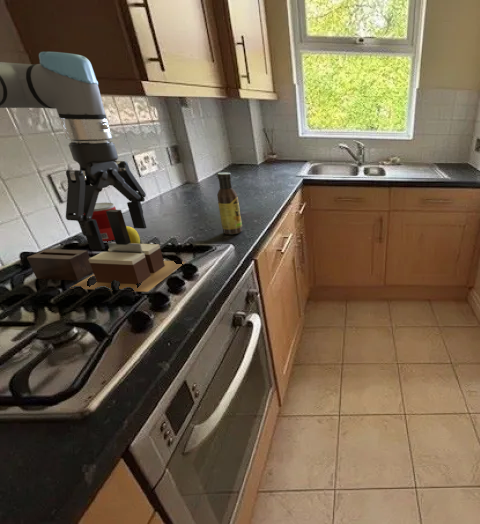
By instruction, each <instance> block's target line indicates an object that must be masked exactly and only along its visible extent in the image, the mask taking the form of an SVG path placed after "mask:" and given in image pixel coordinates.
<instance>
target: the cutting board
mask: <svg viewBox="0 0 480 524" xmlns="http://www.w3.org/2000/svg"><path fill="white" fill-rule="evenodd" d="M174 261H175V260H164V264H165V266H164V267H162V268H161V269H160V270H158V271H157V272H155V273H150V275H151V276H150V277H148V278H147V279H146V280H144V281H143V282H142V283H141V285H140V286H139V287H138V288H137V285H136V284H121V283H120V286H119V289H123V288H126V287H131V288H133V289H134V291H133V292H141V293H142V292H143V293H149V291H151V290H152V289H153V288H155V287H156V286H157V285H158V284H160V283H161V282H163V281H164V280H165V279H166V278H168V277H169V276H170V275H171V274H173V273H174V272H175V271H177V270H178V269H179V268H180V267H182V266H183V265H184V264H185V263H187V261H182V264H183V265H182V264H176V263H175V262H174ZM92 276H94V273H92V275H91V274H90V276H87V277H86V278H84V279H81V281H79V282H77V283H76V284H73V285H71V287H74V286H81V287H82V288H83V289H82V290H95V288H97V287H100V286H106V287H108V288H110V289H111V283H100V282H96V283H95V284H94V285H91V286H90V287H89V286H87V281H88V279H89V278H90V277H92ZM71 287H69V289H72V288H71Z"/></svg>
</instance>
